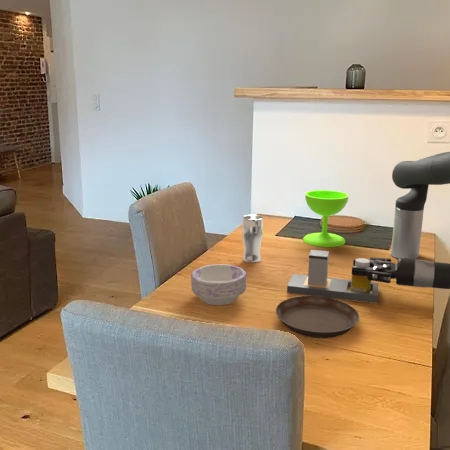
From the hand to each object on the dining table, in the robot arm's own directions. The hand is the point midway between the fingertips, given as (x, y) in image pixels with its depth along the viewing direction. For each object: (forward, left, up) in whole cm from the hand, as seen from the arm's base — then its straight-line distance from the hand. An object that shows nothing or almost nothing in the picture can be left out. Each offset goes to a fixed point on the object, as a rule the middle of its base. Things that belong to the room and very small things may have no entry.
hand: (352, 266), depth 149 cm
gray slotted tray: (0, -5, -8) cm, 10 cm away
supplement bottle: (0, +3, -8) cm, 8 cm away
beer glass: (-20, -34, -8) cm, 40 cm away
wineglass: (-50, -13, -8) cm, 52 cm away
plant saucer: (+22, -7, -9) cm, 25 cm away
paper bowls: (+15, -35, -8) cm, 39 cm away
